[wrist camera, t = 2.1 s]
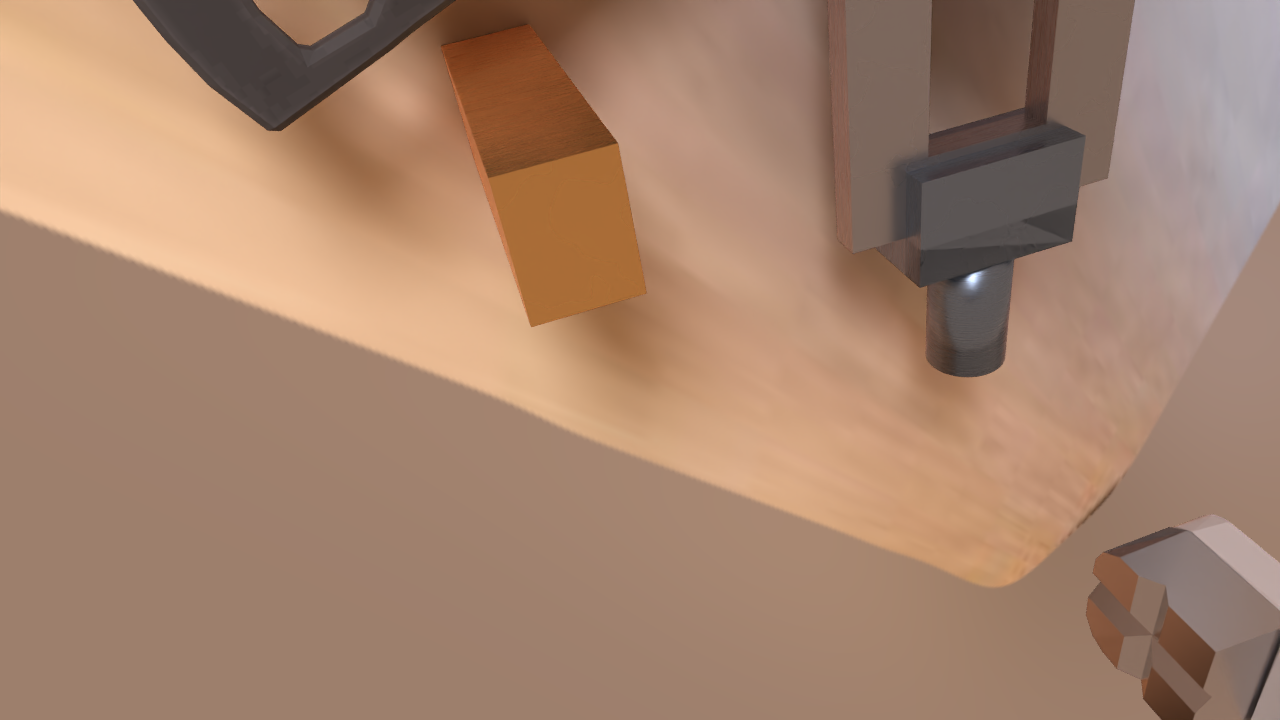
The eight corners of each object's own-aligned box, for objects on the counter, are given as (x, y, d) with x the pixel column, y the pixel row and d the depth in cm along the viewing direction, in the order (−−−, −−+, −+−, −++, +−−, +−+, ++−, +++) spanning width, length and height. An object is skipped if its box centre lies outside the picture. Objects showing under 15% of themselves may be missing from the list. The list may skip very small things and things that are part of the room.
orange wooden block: (440, 45, 29) (488, 178, 20) (528, 23, 30) (617, 143, 20) (473, 159, 32) (531, 327, 22) (555, 137, 32) (646, 293, 22)
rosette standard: (743, -323, 26) (1245, -451, 12) (1047, -385, 27) (1843, -570, 13) (794, 322, 39) (1056, 640, 25) (997, 260, 41) (1359, 529, 26)
